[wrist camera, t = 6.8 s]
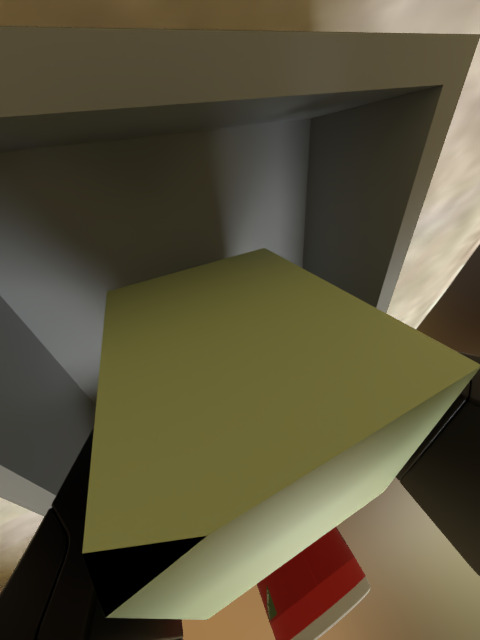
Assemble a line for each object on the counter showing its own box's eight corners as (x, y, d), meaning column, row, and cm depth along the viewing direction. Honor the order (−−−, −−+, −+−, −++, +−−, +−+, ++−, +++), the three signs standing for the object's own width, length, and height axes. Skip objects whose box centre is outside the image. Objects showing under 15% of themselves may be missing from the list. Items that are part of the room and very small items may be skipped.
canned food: (212, 485, 22) (269, 678, 14) (279, 437, 23) (373, 593, 14) (241, 497, 27) (296, 644, 19) (295, 457, 28) (372, 582, 19)
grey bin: (107, 430, 13) (103, 542, 9) (-168, 130, 5) (-1129, 6, 1) (300, 347, 16) (356, 401, 12) (317, 94, 8) (480, 34, 5)
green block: (163, 397, 9) (206, 619, 5) (106, 291, 6) (75, 617, 2) (269, 353, 11) (383, 491, 6) (264, 247, 8) (482, 365, 3)
